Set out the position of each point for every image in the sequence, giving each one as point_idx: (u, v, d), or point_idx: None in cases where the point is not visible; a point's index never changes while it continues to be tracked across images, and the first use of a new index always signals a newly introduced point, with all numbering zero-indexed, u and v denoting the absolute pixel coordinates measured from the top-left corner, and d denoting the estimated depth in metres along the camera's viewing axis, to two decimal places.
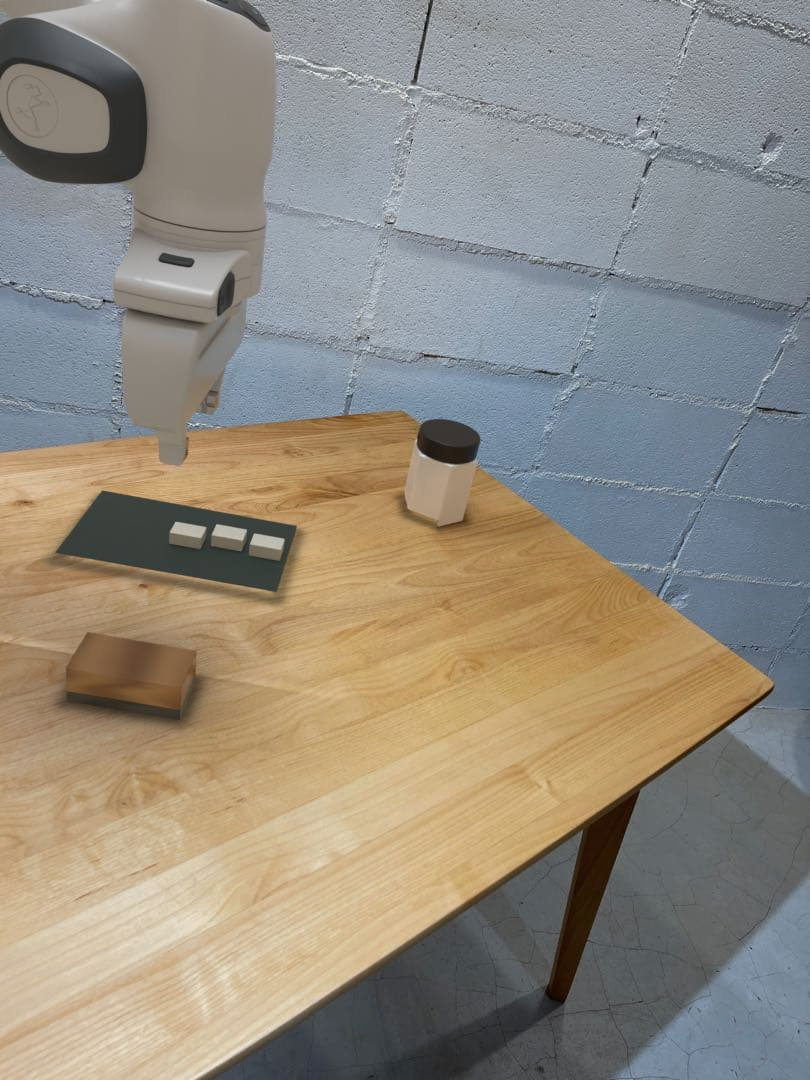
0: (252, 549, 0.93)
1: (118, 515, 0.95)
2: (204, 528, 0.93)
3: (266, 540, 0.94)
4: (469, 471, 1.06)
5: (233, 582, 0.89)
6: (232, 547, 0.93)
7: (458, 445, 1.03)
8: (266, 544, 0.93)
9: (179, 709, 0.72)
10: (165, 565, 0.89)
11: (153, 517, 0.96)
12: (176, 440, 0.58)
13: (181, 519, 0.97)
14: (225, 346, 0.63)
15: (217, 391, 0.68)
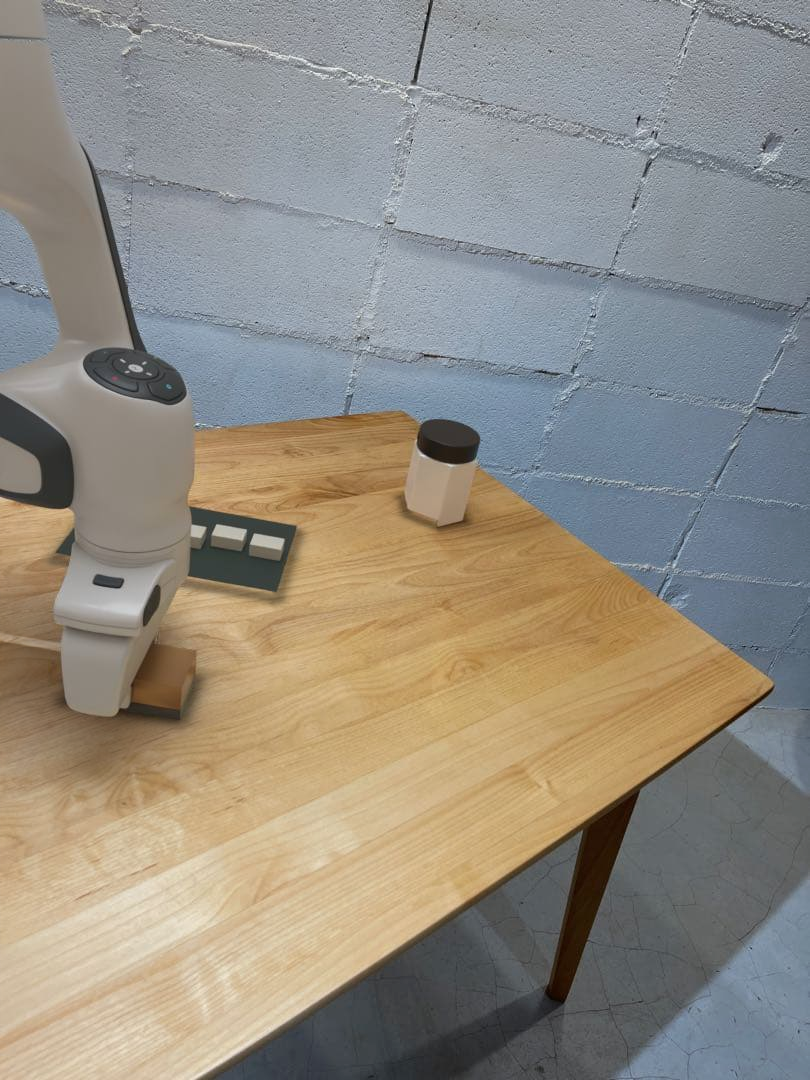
0: (252, 549, 0.93)
1: None
2: (204, 528, 0.93)
3: (266, 540, 0.94)
4: (469, 471, 1.06)
5: (233, 582, 0.89)
6: (232, 547, 0.93)
7: (458, 445, 1.03)
8: (266, 544, 0.93)
9: (179, 709, 0.72)
10: None
11: None
12: None
13: None
14: (162, 606, 0.72)
15: (154, 640, 0.75)
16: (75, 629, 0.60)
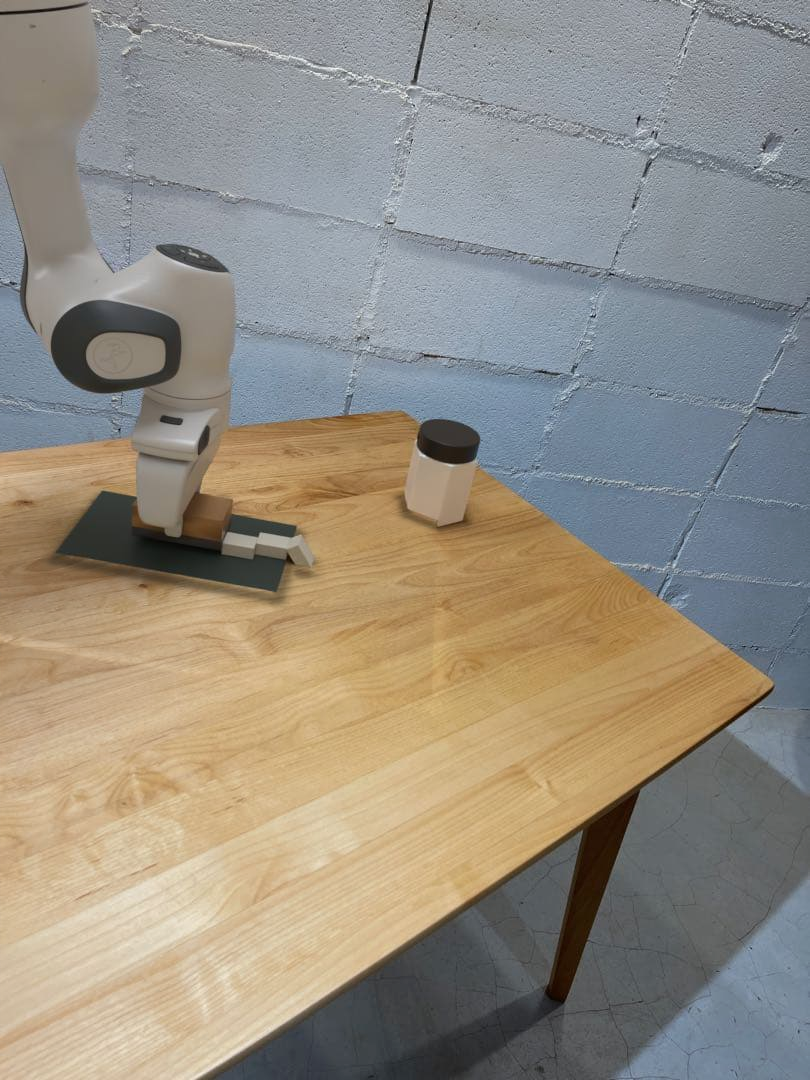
0: (294, 549, 0.93)
1: (118, 515, 0.95)
2: (255, 538, 0.94)
3: (306, 549, 0.94)
4: (469, 470, 1.06)
5: (233, 582, 0.89)
6: (277, 555, 0.94)
7: (458, 445, 1.03)
8: (306, 554, 0.93)
9: (220, 540, 0.91)
10: (165, 565, 0.89)
11: None
12: None
13: None
14: (205, 460, 0.91)
15: (197, 492, 0.94)
16: (146, 455, 0.79)
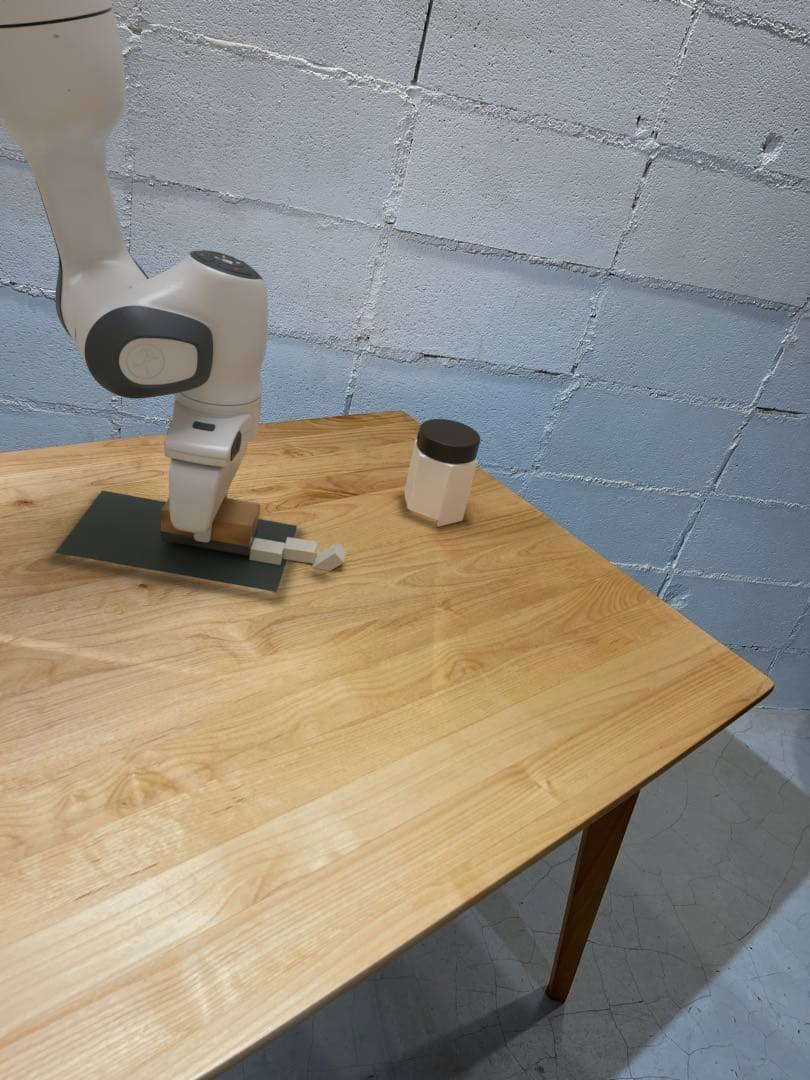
0: (337, 560, 0.93)
1: (118, 515, 0.95)
2: (283, 543, 0.94)
3: None
4: (469, 470, 1.06)
5: (233, 582, 0.89)
6: (304, 559, 0.94)
7: (458, 445, 1.03)
8: None
9: (249, 546, 0.91)
10: (165, 565, 0.89)
11: (153, 517, 0.96)
12: None
13: None
14: (234, 465, 0.91)
15: (225, 497, 0.95)
16: (179, 461, 0.79)
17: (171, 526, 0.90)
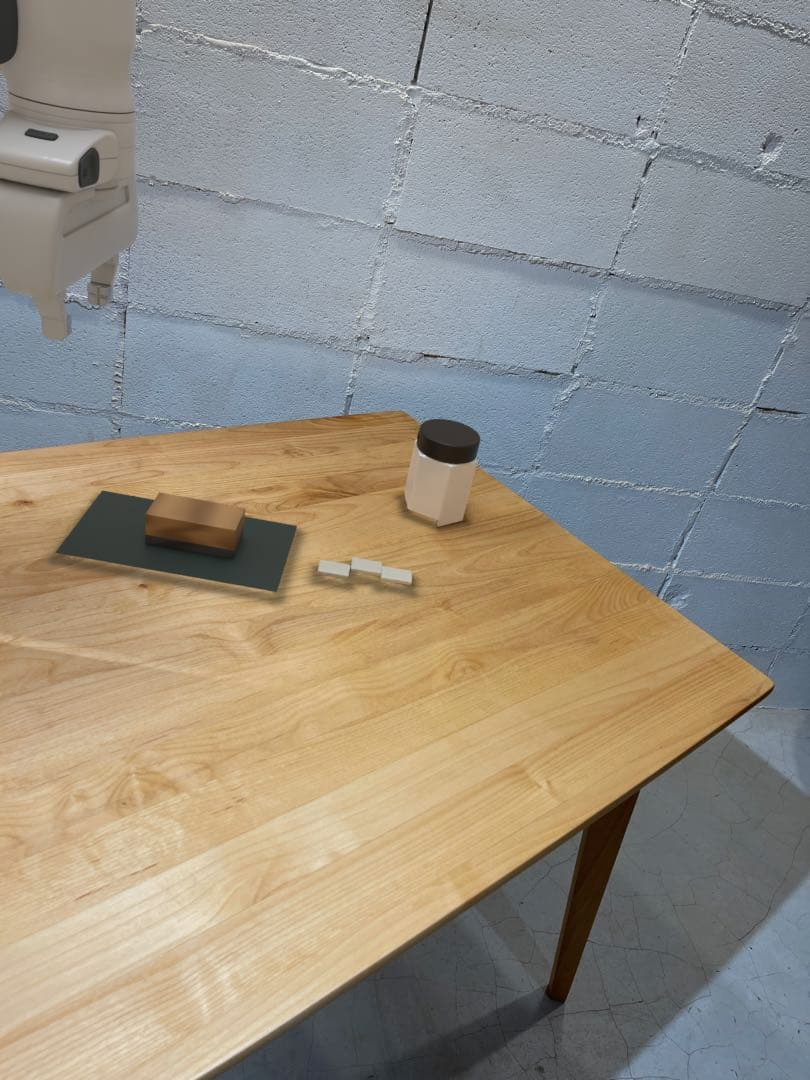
0: None
1: (118, 515, 0.95)
2: (348, 565, 0.95)
3: None
4: (469, 470, 1.06)
5: (233, 582, 0.89)
6: None
7: (458, 445, 1.03)
8: None
9: (233, 549, 0.91)
10: (165, 565, 0.89)
11: None
12: (56, 314, 0.63)
13: None
14: (109, 235, 0.68)
15: (109, 284, 0.73)
16: (5, 183, 0.56)
17: (155, 530, 0.90)
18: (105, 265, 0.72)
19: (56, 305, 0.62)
